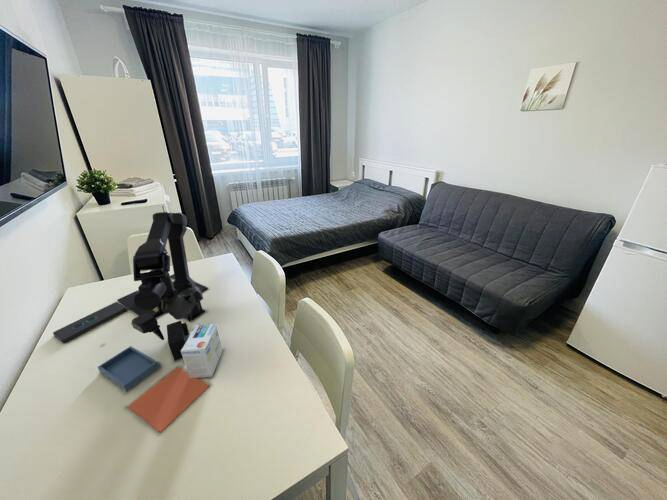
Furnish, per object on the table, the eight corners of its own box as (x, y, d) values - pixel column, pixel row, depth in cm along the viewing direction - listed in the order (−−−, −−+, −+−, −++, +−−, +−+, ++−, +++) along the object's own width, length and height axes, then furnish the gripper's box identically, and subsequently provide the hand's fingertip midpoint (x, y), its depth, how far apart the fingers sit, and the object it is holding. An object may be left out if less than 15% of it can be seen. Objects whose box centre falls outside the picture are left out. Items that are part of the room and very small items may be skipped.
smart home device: (51, 332, 94) (115, 301, 110) (54, 335, 95) (117, 304, 110) (61, 340, 90) (126, 307, 106) (64, 343, 91) (128, 310, 107)
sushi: (148, 321, 100) (145, 313, 99) (117, 301, 113) (114, 294, 111) (207, 289, 119) (205, 282, 118) (176, 274, 132) (174, 268, 130)
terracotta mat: (177, 367, 81) (177, 367, 81) (209, 385, 75) (209, 385, 75) (127, 407, 70) (127, 406, 70) (160, 432, 64) (160, 432, 64)
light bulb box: (202, 351, 86) (194, 324, 82) (223, 349, 87) (217, 322, 82) (188, 379, 77) (179, 350, 72) (213, 377, 77) (205, 348, 73)
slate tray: (133, 351, 87) (130, 345, 86) (159, 367, 81) (157, 361, 80) (100, 372, 80) (97, 367, 79) (127, 392, 74) (123, 386, 73)
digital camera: (193, 354, 85) (188, 337, 82) (174, 361, 83) (168, 344, 80) (190, 334, 93) (184, 318, 90) (172, 341, 91) (166, 324, 88)
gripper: (145, 315, 68) (164, 360, 74) (207, 279, 82) (218, 319, 89) (121, 303, 72) (140, 346, 79) (184, 271, 87) (196, 310, 94)
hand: (176, 330), depth 85 cm, fingers open, 9 cm apart
